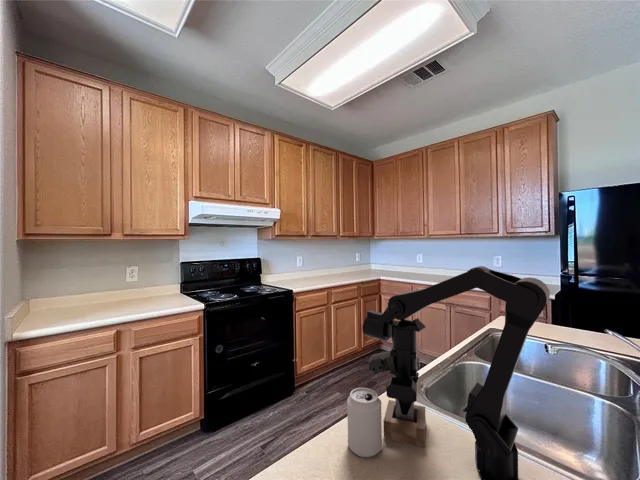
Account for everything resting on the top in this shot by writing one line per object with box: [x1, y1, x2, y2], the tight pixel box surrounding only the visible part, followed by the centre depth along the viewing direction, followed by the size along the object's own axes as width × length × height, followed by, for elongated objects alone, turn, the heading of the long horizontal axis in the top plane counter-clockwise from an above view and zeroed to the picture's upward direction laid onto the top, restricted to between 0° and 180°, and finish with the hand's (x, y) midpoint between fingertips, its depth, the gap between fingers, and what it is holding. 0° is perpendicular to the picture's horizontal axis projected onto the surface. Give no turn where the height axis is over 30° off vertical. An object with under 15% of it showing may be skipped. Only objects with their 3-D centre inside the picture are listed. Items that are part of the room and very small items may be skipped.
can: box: [346, 387, 383, 458], centre depth 63 cm, size 8×8×12 cm
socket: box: [383, 399, 427, 448], centre depth 69 cm, size 9×9×4 cm
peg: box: [395, 399, 415, 423], centre depth 69 cm, size 4×4×10 cm
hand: (405, 409), depth 69 cm, fingers closed on peg, 4 cm apart
